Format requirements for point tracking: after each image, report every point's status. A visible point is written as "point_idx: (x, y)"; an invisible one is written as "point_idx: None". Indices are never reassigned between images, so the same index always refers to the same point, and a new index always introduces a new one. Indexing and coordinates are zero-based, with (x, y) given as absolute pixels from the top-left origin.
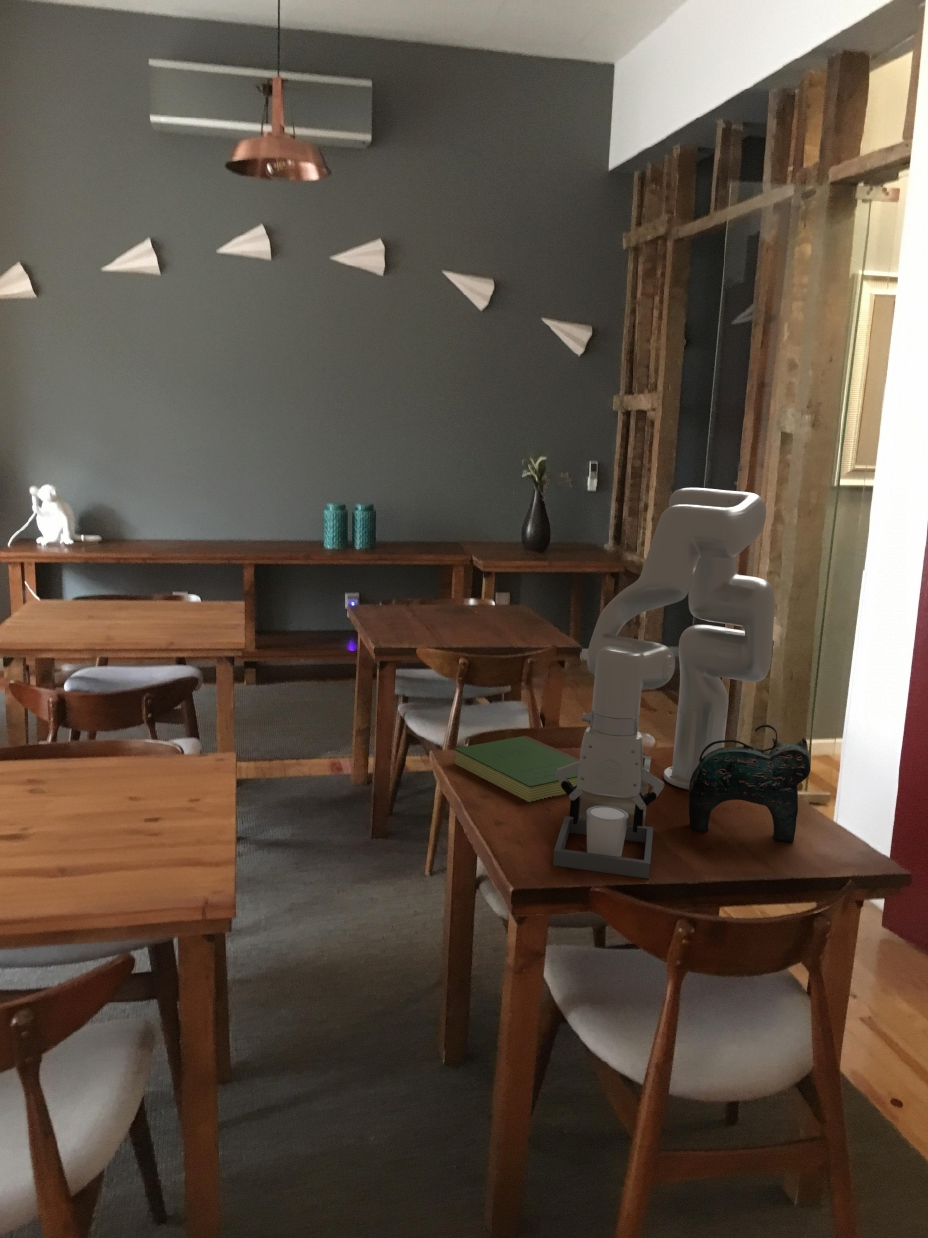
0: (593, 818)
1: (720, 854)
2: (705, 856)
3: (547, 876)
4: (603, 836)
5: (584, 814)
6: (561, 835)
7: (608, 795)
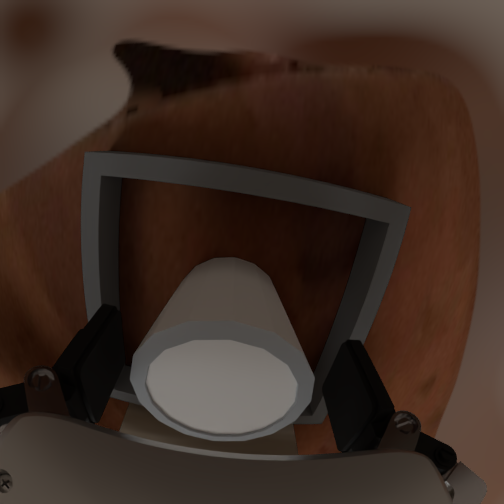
0: (293, 346)
1: (3, 316)
2: (17, 307)
3: (405, 129)
4: (239, 289)
5: (271, 436)
6: (364, 325)
7: (224, 454)
